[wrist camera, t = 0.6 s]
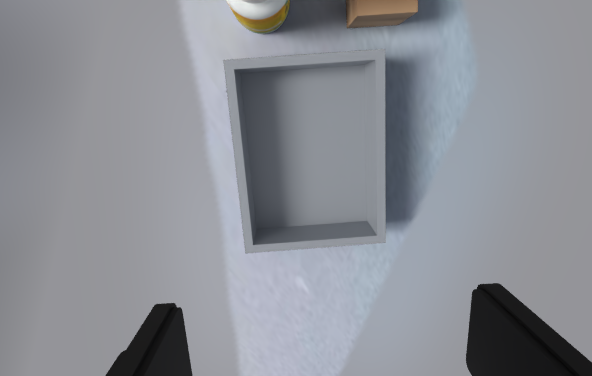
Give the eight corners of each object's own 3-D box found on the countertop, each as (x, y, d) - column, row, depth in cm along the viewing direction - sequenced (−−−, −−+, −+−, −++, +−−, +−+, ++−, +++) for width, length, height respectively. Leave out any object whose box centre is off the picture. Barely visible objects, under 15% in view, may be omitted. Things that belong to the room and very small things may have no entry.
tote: (232, 66, 33) (223, 59, 28) (370, 56, 33) (385, 48, 28) (250, 233, 37) (245, 253, 33) (372, 224, 38) (385, 242, 33)
